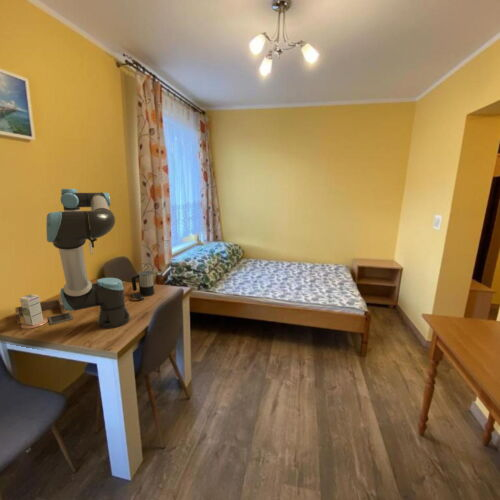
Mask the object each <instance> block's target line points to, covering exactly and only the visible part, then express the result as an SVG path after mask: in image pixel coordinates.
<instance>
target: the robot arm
mask: <svg viewBox="0 0 500 500" xmlns="http://www.w3.org/2000/svg"><path fill="white" fill-rule="evenodd" d="M60 192H61V193H60V194H61V196H60V202H61V205H62V206H63V211H62V210H61V211H50V212H49V213H47V215H46V223H45V224H46V241H47V242H48V243H52V245H53V246H54V247H55V248H57V249H58V252H59V257H60V260H61V266H62V272H63V275H64V280H65V284H64V285H63V287H62V288H60V299H61V301H62V303H63V306H64V310H65V311H68V312H72V311H76V312H77V311H79V310H83V309H84V310H85V309H88V308H89V309H90V308H95V307H99V308H100V310H99V314H98V319H97V325H98V327H100V328H102V329H113V328H119V327H121V326H124V325H126V324H127V323H129V321H130V320H131V315H130V313H129V310H128V308H127V307H126V301H125V293H124V289H125V288H124V284H123V281H122V280H121V279H119V278H117V277H102V278H98V279H97V280H96V283H95V282H94V283H92V281H91V280H90V279H88V272H87V267H86V266H87V265H86V260H85V253H84V247H83V246H84V245H85V244H86V243H87V240H88V241H89V242H88V244H89V245H88V246H89V252H90V254H93V251H94V250H93V248H95V242H97V241H98V239H100V238H102V237H104V236H105V235H108V233H110V231H112V230H113V228H114V226H115V224H116V218H115V215H114V213H113V212H112V210H110V206H111V197H110V193H109V192H78V189H77V188H62V189H61V190H60ZM81 208H90V209H91V210H81Z"/></svg>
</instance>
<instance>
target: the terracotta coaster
mask: <svg viewBox="0 0 500 500" xmlns="http://www.w3.org/2000/svg"><path fill="white" fill-rule="evenodd" d="M48 322H49V319H48V317H43V321H42V322H40V323H38V324H36V325H33V326H32V325H27V324H25V322H23V323H22V324H21V325H20V328H21V329H23V330H30V329H31V330H32V329H35V328H40V327H42V326H44V325H46V324H47V323H48Z"/></svg>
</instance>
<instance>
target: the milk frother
mask: <svg viewBox="0 0 500 500" xmlns="http://www.w3.org/2000/svg"><path fill="white" fill-rule="evenodd" d="M136 279H138V286H139V293H132V294H131V297H132V298H134V299H136V300H139V301H140V300H144V299H145V297H150V296H153V295H155V288H154V287H155V285H154V271H152V270H143V271H139V272H138V274H135V275H133V276H132V277H131V285H132V291H133V292H136V291H137V289H138V288H137V281H136Z"/></svg>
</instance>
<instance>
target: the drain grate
mask: <svg viewBox="0 0 500 500" xmlns="http://www.w3.org/2000/svg"><path fill="white" fill-rule="evenodd" d="M47 319H48V322H49V324H50V326H52V325H57V324H60V323H61V324H62V323H64V322H68V321H72V320H74V317H73V316H72V313H71V311H68V312H65V313H60V314H56V315H52V316H48V317H47Z"/></svg>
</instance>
